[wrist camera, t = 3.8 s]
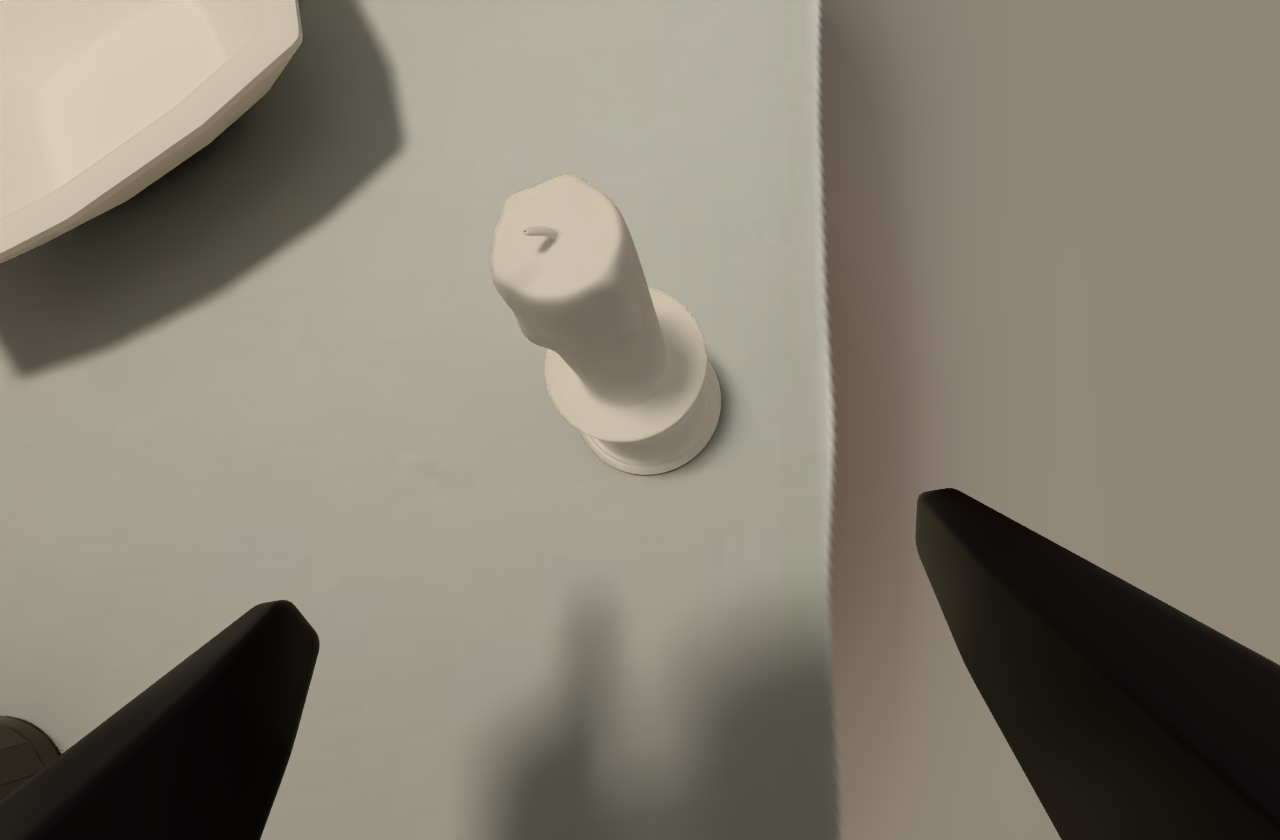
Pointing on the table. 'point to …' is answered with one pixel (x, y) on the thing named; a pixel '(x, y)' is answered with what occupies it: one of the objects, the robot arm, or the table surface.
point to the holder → (21, 754)
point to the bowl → (121, 98)
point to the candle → (604, 328)
